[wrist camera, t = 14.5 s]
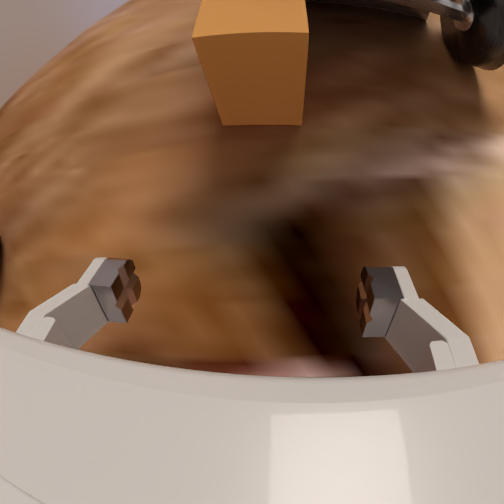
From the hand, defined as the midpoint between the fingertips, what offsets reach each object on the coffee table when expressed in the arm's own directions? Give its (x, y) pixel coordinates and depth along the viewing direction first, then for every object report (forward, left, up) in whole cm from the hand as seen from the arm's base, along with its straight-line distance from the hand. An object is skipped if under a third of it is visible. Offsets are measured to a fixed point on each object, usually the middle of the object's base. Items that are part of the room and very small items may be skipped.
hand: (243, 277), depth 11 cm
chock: (+12, 0, -6) cm, 14 cm away
